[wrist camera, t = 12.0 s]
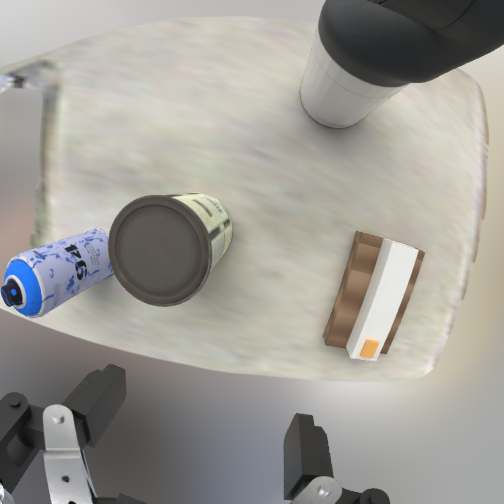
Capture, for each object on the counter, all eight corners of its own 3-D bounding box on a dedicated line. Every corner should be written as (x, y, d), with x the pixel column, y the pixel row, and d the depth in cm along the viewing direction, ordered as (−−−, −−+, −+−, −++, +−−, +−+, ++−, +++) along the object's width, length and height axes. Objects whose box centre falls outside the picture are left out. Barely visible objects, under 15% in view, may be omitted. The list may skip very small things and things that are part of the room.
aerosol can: (127, 268, 41) (39, 323, 21) (92, 284, 42) (7, 337, 22) (106, 220, 39) (6, 247, 20) (73, 240, 40) (-20, 274, 21)
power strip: (378, 235, 36) (394, 243, 31) (402, 242, 36) (420, 251, 31) (342, 340, 40) (351, 360, 35) (366, 343, 40) (377, 363, 34)
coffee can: (153, 254, 40) (101, 286, 26) (170, 183, 37) (118, 183, 24) (221, 276, 40) (196, 322, 26) (242, 204, 37) (225, 213, 24)
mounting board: (356, 230, 37) (362, 233, 35) (417, 248, 37) (425, 252, 34) (323, 336, 41) (325, 344, 38) (381, 346, 40) (386, 354, 38)
